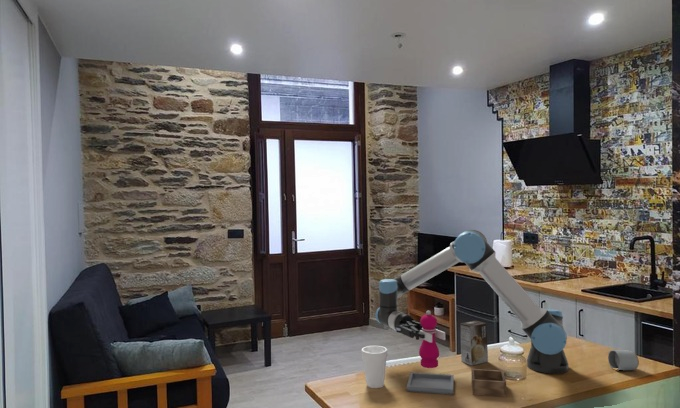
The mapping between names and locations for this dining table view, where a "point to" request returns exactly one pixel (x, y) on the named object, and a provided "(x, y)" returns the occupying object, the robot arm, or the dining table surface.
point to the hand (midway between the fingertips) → (437, 337)
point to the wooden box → (488, 382)
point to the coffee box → (474, 342)
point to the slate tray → (430, 383)
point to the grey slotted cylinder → (623, 360)
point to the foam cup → (374, 365)
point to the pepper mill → (427, 349)
